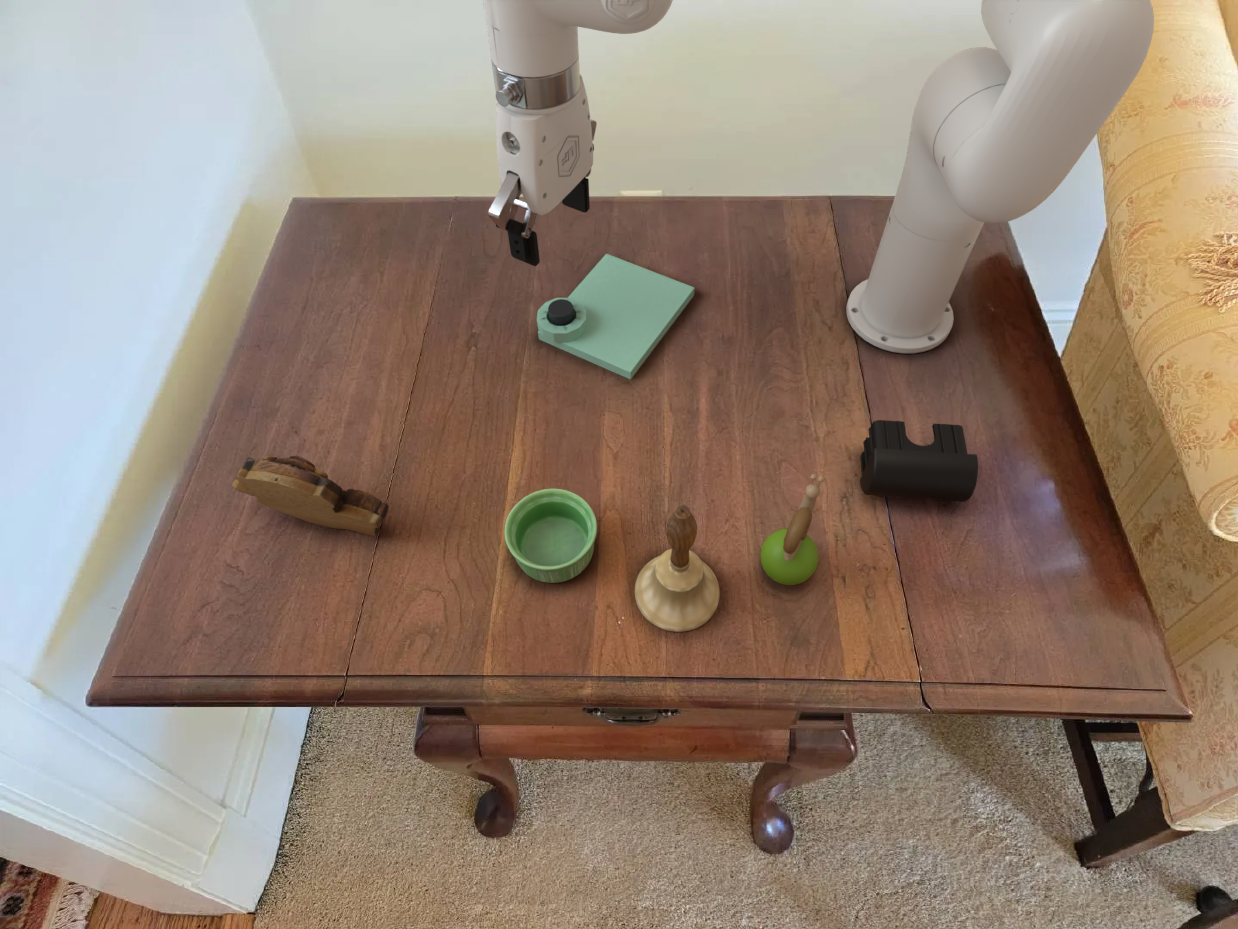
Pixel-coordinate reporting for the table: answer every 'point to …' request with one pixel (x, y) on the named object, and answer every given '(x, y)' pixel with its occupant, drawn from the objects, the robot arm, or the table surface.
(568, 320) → the button
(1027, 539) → the table surface
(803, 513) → the snail figurine
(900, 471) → the end cap
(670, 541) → the hand bell
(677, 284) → the scale
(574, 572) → the ramekin
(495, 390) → the table surface
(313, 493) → the wooden carving
